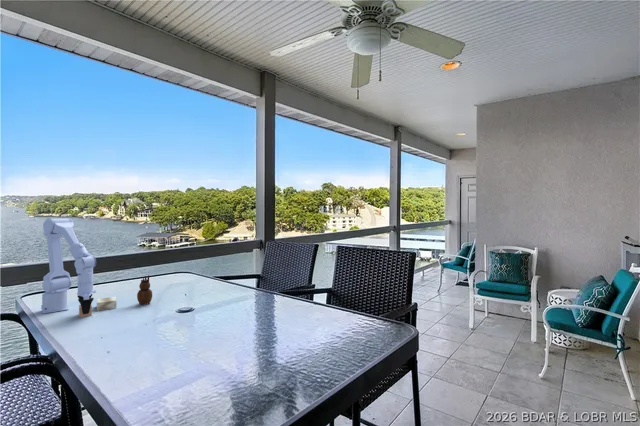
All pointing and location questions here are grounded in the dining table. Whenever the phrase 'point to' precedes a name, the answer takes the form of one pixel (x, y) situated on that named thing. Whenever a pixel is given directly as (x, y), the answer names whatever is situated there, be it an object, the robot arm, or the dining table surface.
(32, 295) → the dining table surface
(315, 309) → the dining table surface
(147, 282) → the wooden figurine
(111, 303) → the birch block
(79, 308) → the terracotta cube
